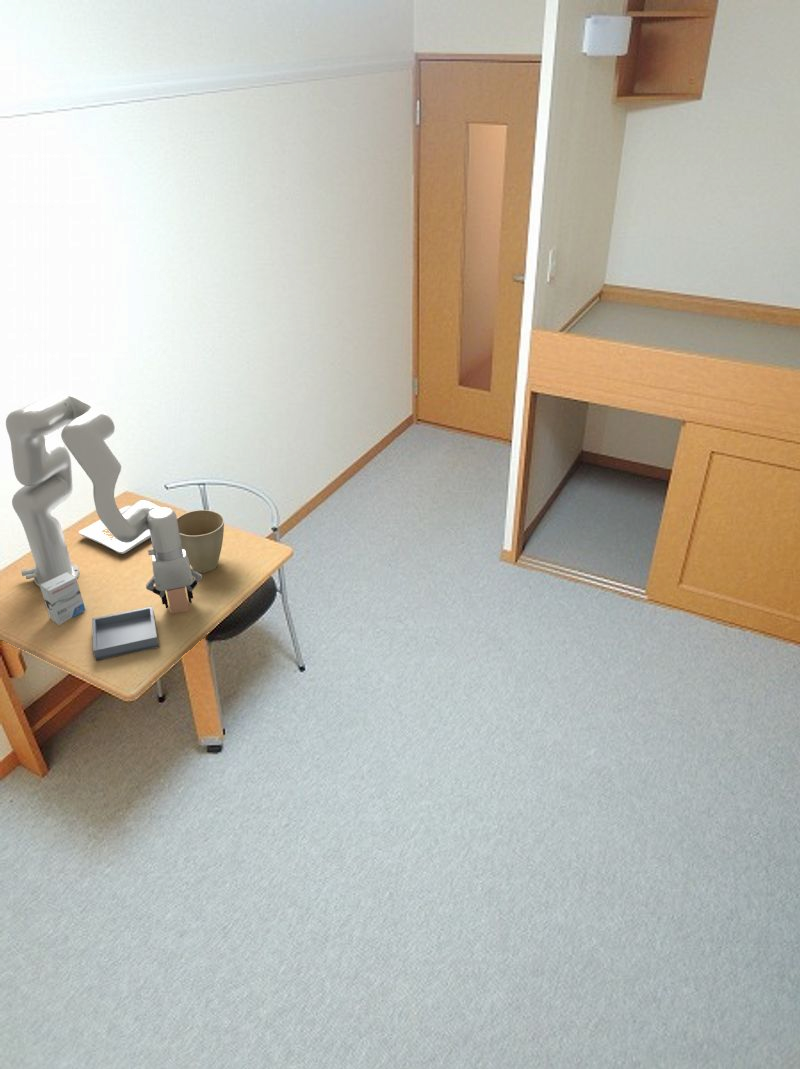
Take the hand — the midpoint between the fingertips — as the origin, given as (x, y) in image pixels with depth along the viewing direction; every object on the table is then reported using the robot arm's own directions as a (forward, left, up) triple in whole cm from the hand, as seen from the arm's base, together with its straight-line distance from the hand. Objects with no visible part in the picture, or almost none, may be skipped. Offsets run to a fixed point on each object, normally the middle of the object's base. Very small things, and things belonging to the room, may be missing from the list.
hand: (178, 602), depth 215 cm
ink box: (-30, +7, -2) cm, 31 cm away
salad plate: (-12, +45, -2) cm, 47 cm away
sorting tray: (-15, -9, -2) cm, 18 cm away
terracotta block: (0, 0, -2) cm, 2 cm away
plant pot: (+10, +18, -2) cm, 21 cm away
